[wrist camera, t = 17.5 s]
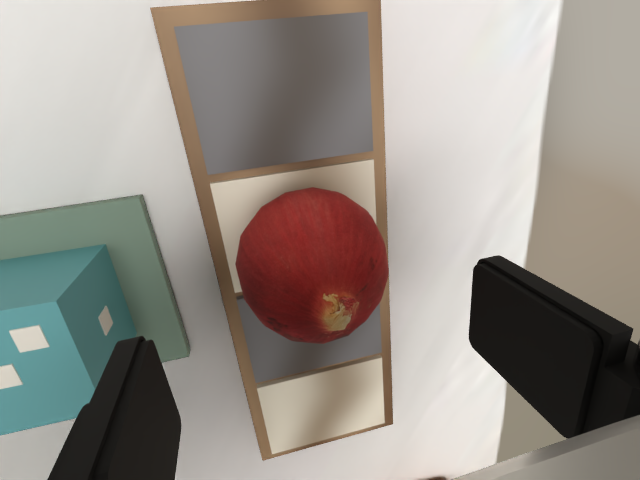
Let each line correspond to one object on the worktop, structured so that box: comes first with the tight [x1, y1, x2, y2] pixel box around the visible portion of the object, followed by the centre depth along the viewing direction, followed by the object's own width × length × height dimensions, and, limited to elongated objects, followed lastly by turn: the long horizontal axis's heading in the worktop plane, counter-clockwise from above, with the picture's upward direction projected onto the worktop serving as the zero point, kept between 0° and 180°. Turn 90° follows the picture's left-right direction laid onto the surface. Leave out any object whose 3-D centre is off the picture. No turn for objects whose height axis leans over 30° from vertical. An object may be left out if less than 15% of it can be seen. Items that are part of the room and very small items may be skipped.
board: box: [150, 0, 393, 460], centre depth 19 cm, size 9×25×1 cm, turn 6°
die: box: [0, 244, 137, 435], centre depth 14 cm, size 5×5×5 cm
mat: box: [0, 195, 190, 363], centre depth 17 cm, size 9×9×1 cm
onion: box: [235, 187, 389, 344], centre depth 14 cm, size 6×6×8 cm
